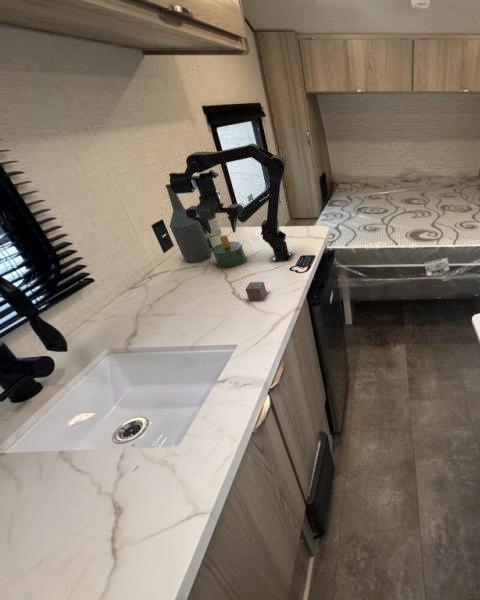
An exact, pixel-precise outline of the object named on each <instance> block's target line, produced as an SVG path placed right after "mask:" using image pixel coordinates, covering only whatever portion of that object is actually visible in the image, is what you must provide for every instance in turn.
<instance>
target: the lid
mask: <svg viewBox="0 0 480 600" xmlns="http://www.w3.org/2000/svg"><path fill="white" fill-rule="evenodd" d="M220 239H221V242H222V244H219V245H217V246H215V247H213V248H212V250H211V253H213V255H214V254H228V253H232V252H235V251H238V250H239V249H241V248H243V243H242V242H240V241H230V240H229V238H228V235H227V234H226V235H224V234H223V236H220Z"/></svg>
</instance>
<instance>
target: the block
mask: <svg viewBox="0 0 480 600" xmlns="http://www.w3.org/2000/svg"><path fill="white" fill-rule="evenodd" d="M245 292H246V296H247V298H248V301H249V302H250V301H264V299H265V297H266V295H267V294H268V292H267V288H266V285H265V282H264V281H250V282H249V283H248V285H247V286H246V288H245Z"/></svg>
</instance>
